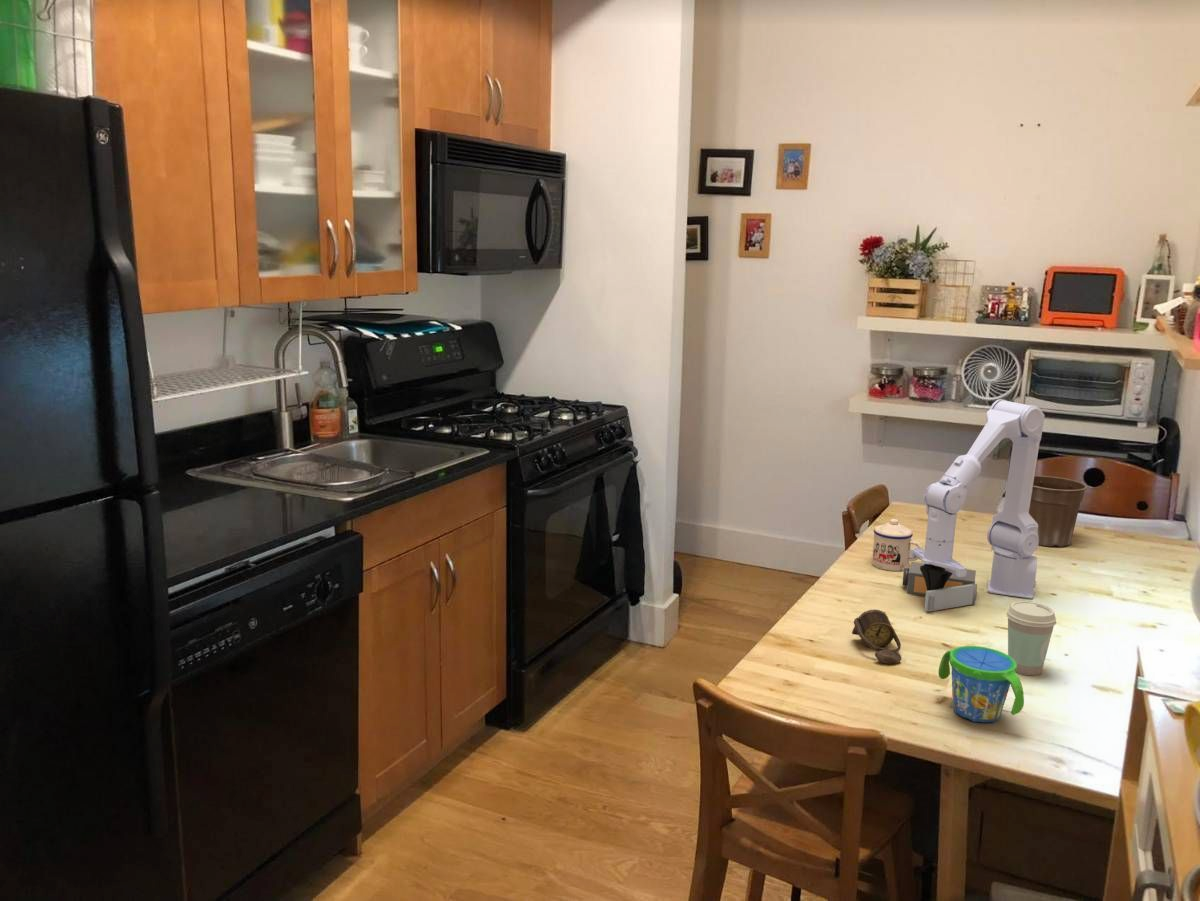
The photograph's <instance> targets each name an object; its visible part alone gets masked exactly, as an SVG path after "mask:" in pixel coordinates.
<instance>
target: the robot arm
mask: <svg viewBox="0 0 1200 901" xmlns="http://www.w3.org/2000/svg"><path fill="white" fill-rule="evenodd" d="M985 421H986V422H985V425H984V426H983V428H982V430H981V431H980V433H979V434H978V436H977V437H976V439H975V440H974V442H973V444H972V445H971V446H970V449H968V451H967V453H966V454H961V455H958V456H957V457H956V458H955V459H954V461H953V462H952V464H950V466H949V467H948V469H947V470H946V471H945V473H943V475H942V477H941V478H940V479H939V480H938V481H935V482H934V483H931V484H929V486H927V488H926V490H925V493H924V494H923V502H924V504H925V507H926V509H925V510H926V511H925V513H926V515H927V522H926V523H927V526H926V533H925V544H924V549H923V550H922V549H919V548H918V547H913V548H910V557H911V558H917V559H918V560H920V563H924V565H922V566H920V570H921V572H922V574H923V576H924V579H925V582H926V587H927V591H930V590H936V589H943V588H944V586H945V584H946V582H947V580H948V579H949V578H950V576H951V575H952V574H956V576H957V577H964V576H966V573H967V569H968V567H966V566H964V565H962V563H960V562H958V561H957V560H955V559H954V558H953V553H954V543H955V535H956V524H957V514H958V512H960V511H961V509H962V508H963V507H964V505H965V502H966V497H967V496H968V493H969V492H968V489H970V487H971V486H972V485H973V483H974V482H975V481H976V479H977V478H978V477H979V475H980V474H981V473H982V466H981V464H982V463H983V461H984V460H985V459H986V458H987V457H988V456H989V455H990V454H991V452H992V451H993V450H994V449H995V448H996V447H997V446H998V445H999V443H1000V442H1001V441H1002V440H1005V439H1009V440H1010V441H1011V442H1012V448H1011V449H1012V450H1011V454H1010V461H1009V467H1008V468H1009V469H1008V475H1007V481H1006V488H1005V495H1004V502H1003V508H1002V510H1001V511H999V512H997V513H996V514H994V515H993V516H992V520H991V523H990V526H989V527H988V530H987V534H986V536H987V542H988V543H989V545H991V551H993V556H992V564H991V565H992V566H991V574H990V579H989V580H988V581H987V593H988V594H996V595H1002V596H1010V597H1018V598H1024V599H1031V600H1032V599H1034V593H1035V589H1036V585H1037V584H1036V583H1037V581H1036V575H1037V569H1038V568H1037V567H1038V557H1037V556H1036V555H1034V553H1035V552H1036V551H1037V549H1038V547H1039V545H1038V543H1039V538H1038V524H1037V523H1036V521H1035V520H1034V519H1033V518H1032V517H1031V515H1030V514H1029V507H1030V501H1031V495H1032V488H1033V482H1034V476H1036V467H1037V461H1038V455H1039V454H1038V453H1039V449H1040V444H1041V443H1040V442H1041V440H1042V435H1043V428H1044V421H1045V413H1043V411H1042V410H1041V408H1040V407H1039V406H1037V405H1034V404H1033V405H1029V404H1025V403H1019V402H1014V401H1010V400H1006V399H1002V398H1000V399H999V398H998V399H997V400H995V401H994V402H993V403H992V404H991V406H990V408H989V409H988V411H987V412H986V414H985Z"/></svg>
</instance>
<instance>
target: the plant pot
mask: <svg viewBox="0 0 1200 901" xmlns="http://www.w3.org/2000/svg"><path fill="white" fill-rule="evenodd" d="M1087 489H1088V486H1087V485H1086V483H1084V482H1081V481H1077V480H1075V479H1071V478H1064V477H1058V476H1052V475H1051V476H1050V475H1049V476H1048V475H1034V482H1033V488H1032V495H1031V501H1030V507H1029V514H1030V515H1031V517H1032V518H1033V519H1034V520H1035V521H1036V523H1037V524H1038V538H1039V543H1038V546H1044V547H1045V546H1046V547H1054V546H1057V547H1060V548H1062V547H1067V546H1070V545H1071V544H1072V539H1073V534H1074V531H1075V527H1076V526H1075V525H1076V523H1077V519H1078V515H1079V509H1080V506H1081V503H1082V502H1083V498H1084V494H1085V491H1087Z"/></svg>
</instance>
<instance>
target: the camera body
mask: <svg viewBox="0 0 1200 901" xmlns="http://www.w3.org/2000/svg"><path fill="white" fill-rule="evenodd" d="M924 564H925V563H923V562H915V561H910V564H909V567H908V568H904V570H903V574H902V586H904V587H906V594H907V595H912V596H913V595H914V596H915V595H916V596H921V597H926V591H927V587H926V582H925V579H924V576H923V574H922V572H921V570H920V566H922V565H924ZM976 574H977V570H975V569H968V568H967V573H966V576H964V577H957V576H956V574H952V575H951V576H950V578H949V579H948V580H947V582H946V584H945V586H944V588H949V587H956V586H962V585H969V584H972V583H974V584H976Z"/></svg>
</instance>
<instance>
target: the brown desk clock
mask: <svg viewBox="0 0 1200 901" xmlns="http://www.w3.org/2000/svg"><path fill="white" fill-rule="evenodd" d="M853 625H854V627H853V628H852V632H851V634H852V635H855V636H859V638H860V639H861V643H863V645H865V647H867V648H869V649H871V650H873V651H875V653H874V656H875V658H876V659H877V660H878V661H879V662H880V663H882V664H888V665H890V664H891V665H894V664H897V663H900V662H901V661H902V655H900V654H899V651H900V650H901V647H902V644H901V641H900V639H899V637H898V635H897V633H896V631H895V629H894V627H893V626H892V624H891V621H890V619H889V616H888V615H887V614H886V612H884V611H883V610H880V609H869V610H866V611H864V612H862V613H861V614H860V615H859V616H857V617H856V618H854V620H853ZM893 640H894V642H895V644H896V647H897V648H896V649H886V648H884V647H886V646H888V645H889V644H891V643H892V641H893Z"/></svg>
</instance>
